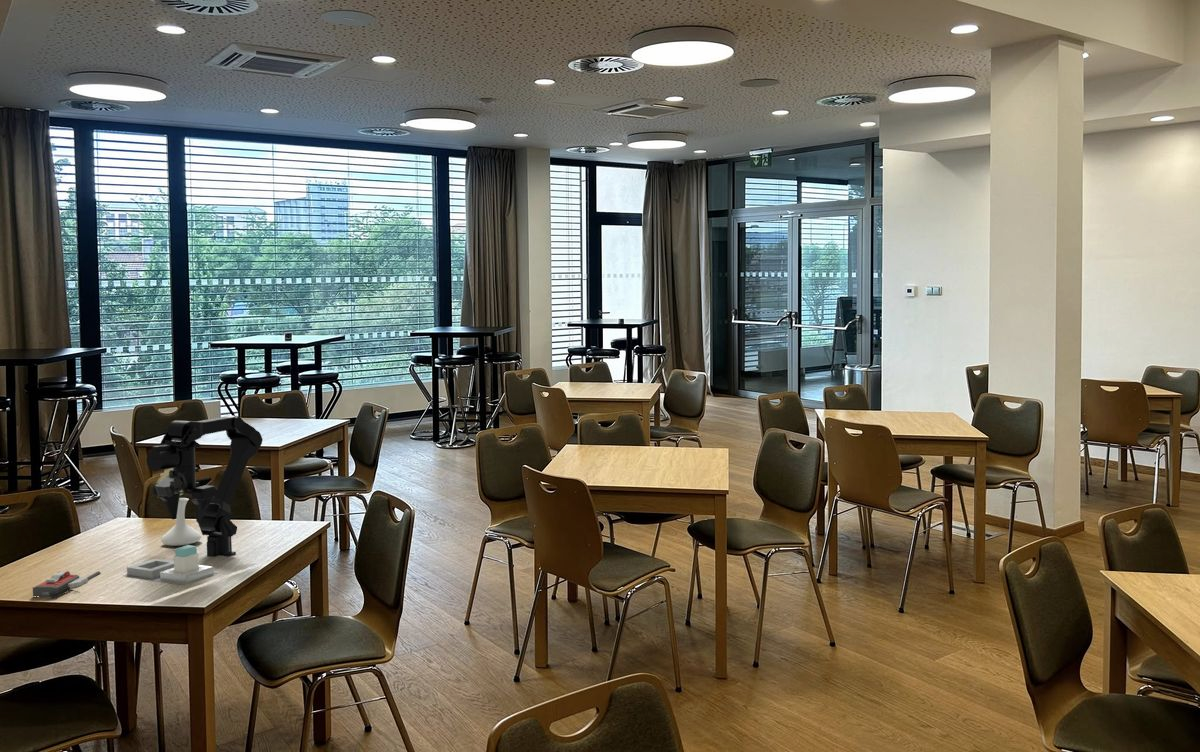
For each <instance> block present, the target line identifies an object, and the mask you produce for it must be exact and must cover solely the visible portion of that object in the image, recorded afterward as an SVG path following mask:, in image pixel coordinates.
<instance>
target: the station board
mask: <svg viewBox="0 0 1200 752" xmlns="http://www.w3.org/2000/svg"><path fill="white" fill-rule="evenodd" d="M216 574H217V575H218V572H214V571H213V574H212V575H209V576H206V577H203V578H200V579H197V580H194V581H192V582H189V583H179V582H173V581H166V580H160V576H158V577H155V578H146V577H139V576H133V575H127V573H126V574H122V577H128V578H133V579H139V580H141V579H142V580H146V581H147V580H148V581H153V582H154V581H155V582H161V583H165V584H166V583H167V584H173V585H179V586H186V585H189V584H191V583H194V582H197V581H200V580H202V579H205V578H207V577H210V576H213V575H216Z"/></svg>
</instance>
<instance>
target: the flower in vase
mask: <svg viewBox="0 0 1200 752" xmlns="http://www.w3.org/2000/svg"><path fill="white" fill-rule="evenodd" d="M170 470H173V468H170V469H165V470H163V472H161V473H160V477H159V478H158V479H157V481H156V483H155V484H158V483H159V482H161V481H162V480H163V479H165V478H167V477H169V472H170ZM182 495H184V493H180V496H182ZM180 496H179V503H178V511H177V516H176V522H175V525H173V527H171V528H170V529H169V530H168V531H167V532H166V533H165V534H164V535H163V536H162V537H161V540H160V542H161V543H162V544H164V545H167V546H171V547H173V546H175V547H176V546H177V547H182V546H186V545H192V544H195V543H197V542H199V541H200V540H201V538H202V533H200V532H199V531H197V530H196V529H195V528H193V527H192V526H190V525H189V524H187V522H186V519H185V516H186V515H185V514H186V513H185V512H186V506H187V503H188V501H189V500H190V499H189V498H187V497H180Z"/></svg>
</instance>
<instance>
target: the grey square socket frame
mask: <svg viewBox="0 0 1200 752" xmlns="http://www.w3.org/2000/svg"><path fill="white" fill-rule="evenodd" d="M172 568H174V560H167V559H161V558H153V559H149V560H147V561H143V562H140V563H137V564H134V565H133V564H132V565H130V566H126V574H127V575H133V576H139V577H146V578H155V577H158V576H160V572H162V571H165V570H168V569H172Z"/></svg>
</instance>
